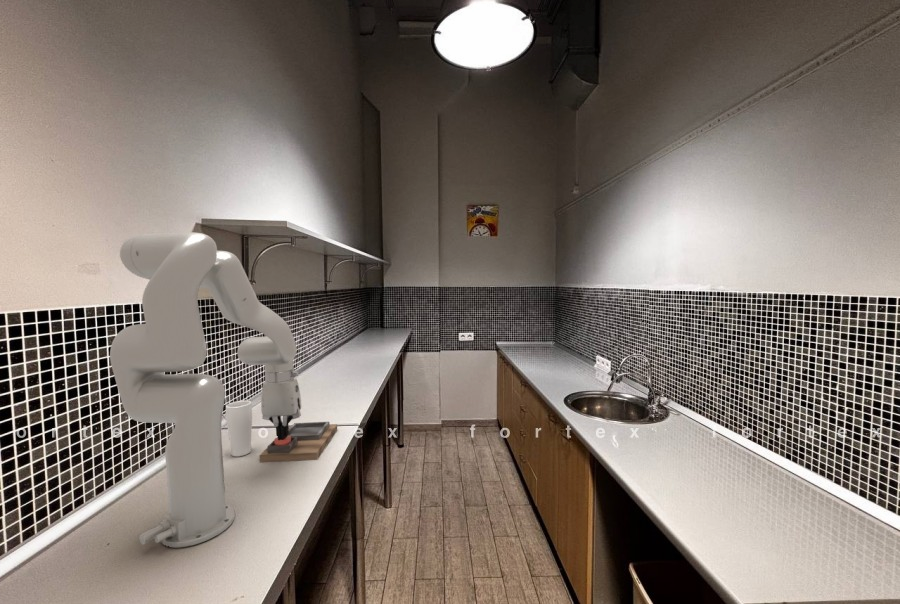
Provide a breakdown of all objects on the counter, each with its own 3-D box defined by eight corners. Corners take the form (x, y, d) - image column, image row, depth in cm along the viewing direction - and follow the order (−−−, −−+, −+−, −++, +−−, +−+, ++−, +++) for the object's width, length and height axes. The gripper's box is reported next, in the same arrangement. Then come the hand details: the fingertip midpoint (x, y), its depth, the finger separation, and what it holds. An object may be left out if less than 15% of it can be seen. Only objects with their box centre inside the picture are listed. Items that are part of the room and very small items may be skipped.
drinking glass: (232, 460, 107) (230, 409, 107) (225, 454, 112) (222, 404, 111) (257, 452, 112) (255, 403, 112) (249, 446, 117) (246, 399, 116)
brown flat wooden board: (317, 459, 107) (316, 445, 106) (259, 462, 106) (258, 448, 106) (337, 430, 128) (336, 418, 128) (289, 432, 128) (289, 420, 128)
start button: (287, 449, 108) (287, 441, 108) (272, 449, 108) (271, 441, 108) (293, 442, 112) (293, 435, 112) (278, 443, 112) (278, 435, 112)
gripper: (309, 372, 113) (312, 432, 114) (259, 374, 113) (262, 434, 114) (301, 378, 106) (304, 442, 107) (246, 380, 105) (250, 444, 106)
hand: (282, 438), depth 110 cm, fingers closed
